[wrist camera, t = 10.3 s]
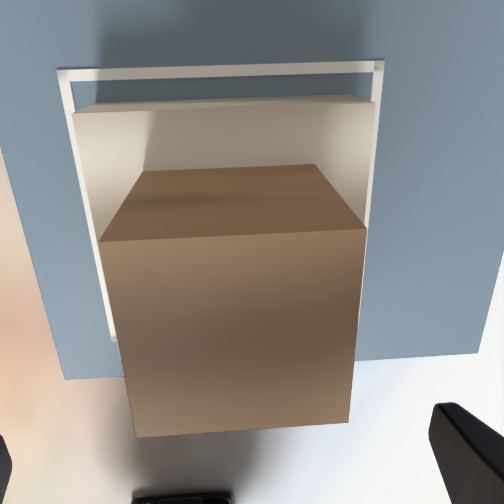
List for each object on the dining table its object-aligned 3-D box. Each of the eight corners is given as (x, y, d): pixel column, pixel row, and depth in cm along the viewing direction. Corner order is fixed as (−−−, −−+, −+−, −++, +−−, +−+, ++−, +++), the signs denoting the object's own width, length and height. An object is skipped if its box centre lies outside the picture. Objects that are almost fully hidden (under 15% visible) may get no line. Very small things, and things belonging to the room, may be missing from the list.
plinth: (336, 306, 21) (352, 344, 19) (133, 318, 21) (120, 359, 18) (351, 94, 17) (375, 103, 14) (95, 102, 17) (71, 113, 14)
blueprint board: (471, 346, 24) (478, 354, 23) (68, 372, 23) (64, 381, 22) (558, -11, 16) (572, -13, 16) (-31, 1, 15) (-42, 0, 15)
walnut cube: (309, 307, 18) (347, 422, 12) (162, 316, 17) (136, 437, 12) (314, 164, 15) (367, 228, 10) (142, 171, 15) (97, 241, 9)
